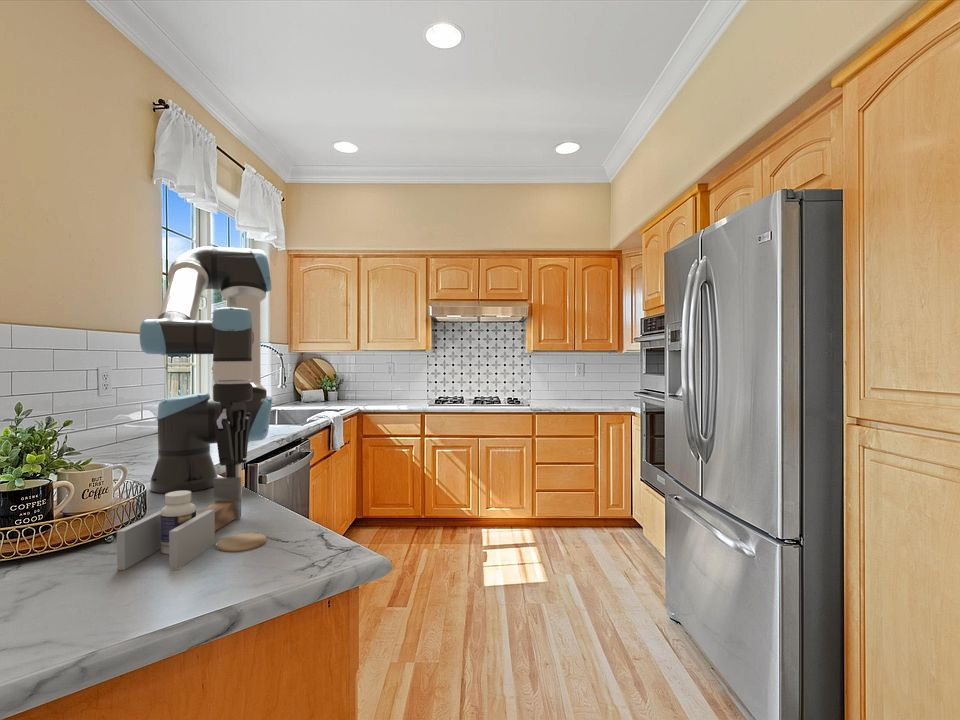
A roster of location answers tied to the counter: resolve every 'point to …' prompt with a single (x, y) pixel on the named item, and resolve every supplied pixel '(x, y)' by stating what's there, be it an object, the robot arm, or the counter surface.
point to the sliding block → (225, 500)
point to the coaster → (241, 542)
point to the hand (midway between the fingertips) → (233, 495)
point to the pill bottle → (175, 514)
